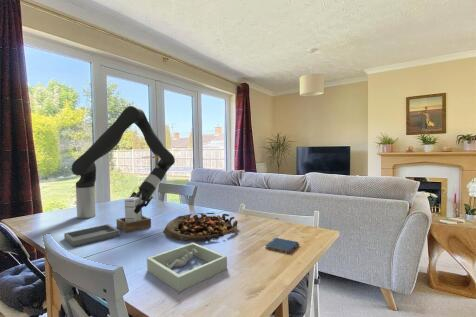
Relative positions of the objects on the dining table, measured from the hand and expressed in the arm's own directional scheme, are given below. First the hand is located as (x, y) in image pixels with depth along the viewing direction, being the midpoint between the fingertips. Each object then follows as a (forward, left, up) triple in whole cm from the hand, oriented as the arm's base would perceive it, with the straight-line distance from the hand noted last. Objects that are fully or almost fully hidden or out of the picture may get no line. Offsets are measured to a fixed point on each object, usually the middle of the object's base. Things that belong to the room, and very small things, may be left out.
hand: (130, 211), depth 126 cm
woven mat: (+69, +29, -9) cm, 75 cm away
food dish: (+28, +21, -9) cm, 36 cm away
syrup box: (0, +1, -8) cm, 8 cm away
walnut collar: (0, +1, -8) cm, 8 cm away
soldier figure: (+53, -6, -8) cm, 54 cm away
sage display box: (+57, -7, -8) cm, 58 cm away
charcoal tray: (+1, -18, -8) cm, 19 cm away
